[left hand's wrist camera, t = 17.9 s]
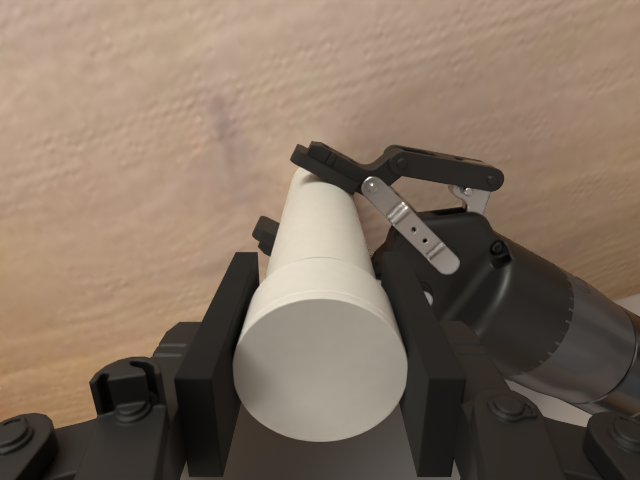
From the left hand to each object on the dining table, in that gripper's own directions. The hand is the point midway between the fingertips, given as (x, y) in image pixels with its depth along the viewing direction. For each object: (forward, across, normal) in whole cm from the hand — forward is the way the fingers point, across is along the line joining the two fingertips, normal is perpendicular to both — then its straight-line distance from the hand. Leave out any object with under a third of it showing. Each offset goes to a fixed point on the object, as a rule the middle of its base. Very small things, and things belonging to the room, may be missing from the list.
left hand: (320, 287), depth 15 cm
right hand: (+9, -2, +1) cm, 9 cm away
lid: (-4, 0, 0) cm, 4 cm away
